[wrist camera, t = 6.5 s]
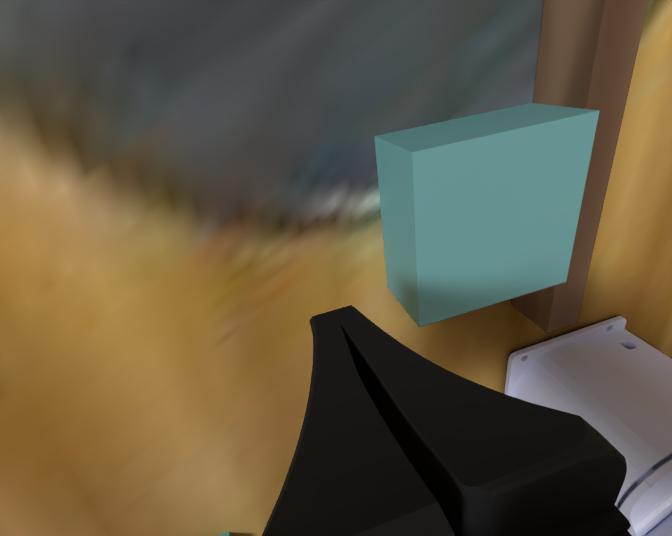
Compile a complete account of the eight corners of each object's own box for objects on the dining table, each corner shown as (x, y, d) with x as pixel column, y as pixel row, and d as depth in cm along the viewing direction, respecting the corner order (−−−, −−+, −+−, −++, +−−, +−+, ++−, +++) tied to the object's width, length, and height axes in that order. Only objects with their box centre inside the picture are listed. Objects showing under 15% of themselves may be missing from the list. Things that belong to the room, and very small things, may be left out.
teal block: (527, 102, 18) (599, 110, 15) (512, 248, 22) (566, 281, 19) (372, 135, 17) (412, 152, 13) (385, 284, 21) (419, 327, 17)
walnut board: (604, -140, 14) (689, -185, 12) (538, 295, 24) (576, 322, 22) (558, -136, 14) (636, -181, 11) (511, 304, 24) (547, 332, 21)
